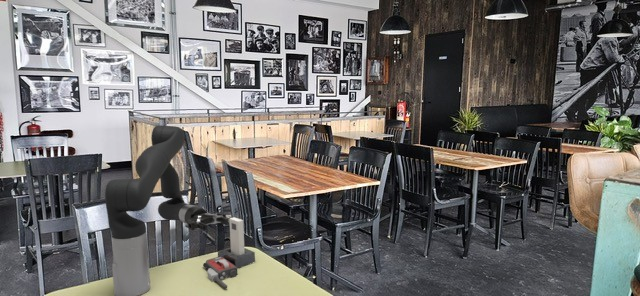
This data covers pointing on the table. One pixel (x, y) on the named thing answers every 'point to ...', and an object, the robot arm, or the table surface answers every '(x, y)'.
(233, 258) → the holder
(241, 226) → the white tall block
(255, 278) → the table surface
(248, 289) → the table surface
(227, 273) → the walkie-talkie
